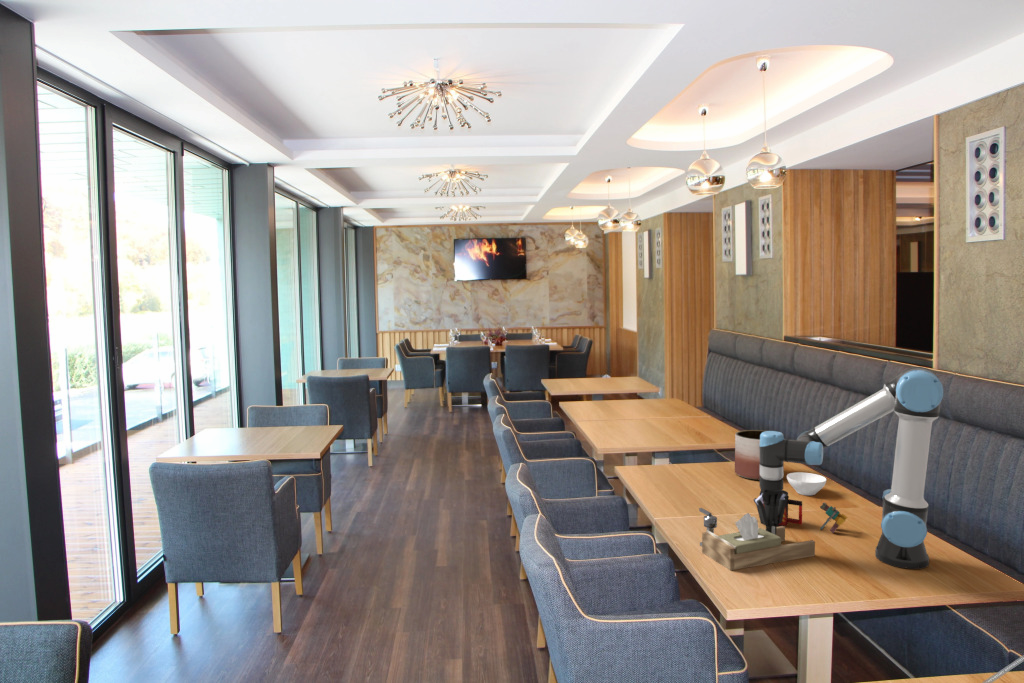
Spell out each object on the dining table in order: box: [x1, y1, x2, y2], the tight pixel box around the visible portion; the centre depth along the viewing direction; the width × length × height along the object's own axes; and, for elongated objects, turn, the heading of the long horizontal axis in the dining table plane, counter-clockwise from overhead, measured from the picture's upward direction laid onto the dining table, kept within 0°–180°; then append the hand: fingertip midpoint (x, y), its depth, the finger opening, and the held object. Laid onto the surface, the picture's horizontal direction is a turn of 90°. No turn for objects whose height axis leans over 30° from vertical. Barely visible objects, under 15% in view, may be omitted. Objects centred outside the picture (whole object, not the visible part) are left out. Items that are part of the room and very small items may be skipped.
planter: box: [734, 429, 785, 482], centre depth 313 cm, size 22×22×20 cm
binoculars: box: [819, 502, 848, 534], centre depth 241 cm, size 9×9×10 cm
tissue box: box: [718, 512, 782, 554], centre depth 216 cm, size 19×10×16 cm, turn 111°
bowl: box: [786, 471, 827, 496], centre depth 285 cm, size 16×16×7 cm
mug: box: [763, 489, 803, 527], centre depth 249 cm, size 10×14×12 cm
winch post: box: [698, 507, 718, 547], centre depth 229 cm, size 8×5×12 cm, turn 18°
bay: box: [701, 526, 816, 571], centre depth 220 cm, size 15×34×8 cm, turn 108°
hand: (771, 543), depth 223 cm, fingers closed
